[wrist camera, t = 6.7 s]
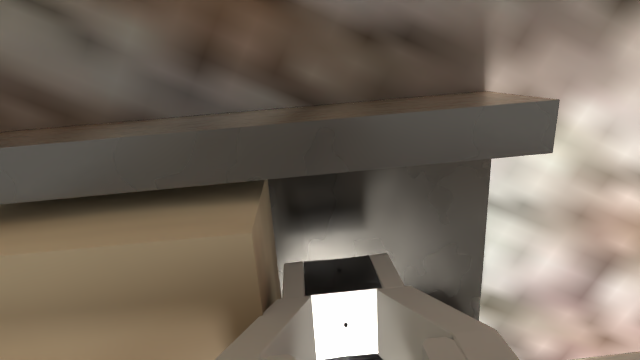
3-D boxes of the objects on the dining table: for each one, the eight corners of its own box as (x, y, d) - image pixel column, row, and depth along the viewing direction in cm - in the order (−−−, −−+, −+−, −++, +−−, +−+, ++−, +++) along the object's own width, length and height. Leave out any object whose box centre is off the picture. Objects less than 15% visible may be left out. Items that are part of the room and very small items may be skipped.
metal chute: (467, 345, 14) (516, 422, 11) (98, 389, 13) (40, 484, 10) (485, 91, 11) (559, 99, 8) (7, 131, 10) (-114, 157, 7)
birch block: (285, 338, 12) (282, 461, 8) (15, 367, 12) (-120, 511, 8) (266, 172, 10) (251, 233, 6) (-56, 198, 10) (-279, 281, 6)
